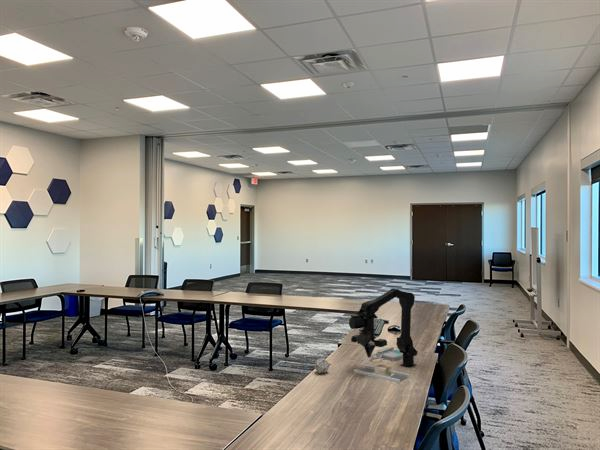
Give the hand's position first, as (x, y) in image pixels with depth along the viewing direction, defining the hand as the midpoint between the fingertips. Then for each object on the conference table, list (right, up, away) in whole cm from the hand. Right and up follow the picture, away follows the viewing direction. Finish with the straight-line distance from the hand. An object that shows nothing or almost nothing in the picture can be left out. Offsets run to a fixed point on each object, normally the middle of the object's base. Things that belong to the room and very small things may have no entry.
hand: (369, 357), depth 223 cm
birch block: (+6, -7, -6) cm, 11 cm away
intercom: (+15, -9, +24) cm, 30 cm away
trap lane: (+5, -7, -5) cm, 10 cm away
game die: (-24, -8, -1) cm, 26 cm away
